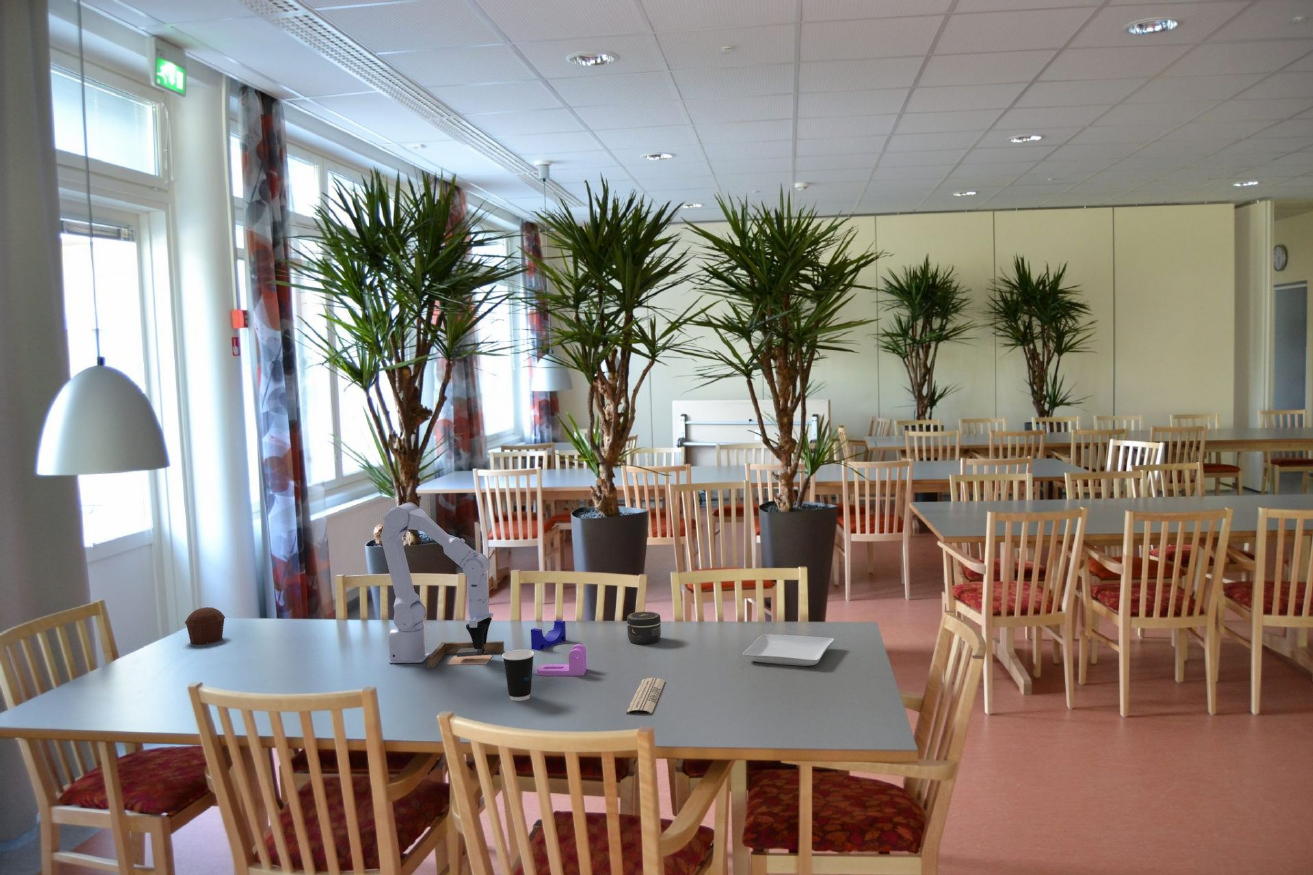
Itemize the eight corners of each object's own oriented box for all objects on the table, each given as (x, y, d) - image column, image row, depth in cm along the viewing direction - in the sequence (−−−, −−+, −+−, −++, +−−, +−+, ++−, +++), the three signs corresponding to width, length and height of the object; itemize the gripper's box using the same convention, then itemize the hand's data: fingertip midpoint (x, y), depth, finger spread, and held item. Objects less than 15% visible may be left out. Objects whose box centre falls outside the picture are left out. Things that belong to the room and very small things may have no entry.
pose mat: (447, 664, 270) (447, 664, 270) (454, 656, 278) (454, 655, 278) (486, 664, 269) (486, 663, 269) (492, 655, 277) (492, 655, 277)
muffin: (201, 635, 310) (199, 604, 309) (233, 635, 309) (231, 604, 308) (178, 645, 298) (176, 613, 298) (211, 645, 297) (209, 613, 296)
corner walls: (428, 668, 267) (427, 657, 267) (442, 652, 282) (441, 642, 282) (493, 667, 266) (492, 656, 266) (504, 651, 281) (503, 641, 281)
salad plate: (741, 665, 263) (740, 652, 263) (762, 643, 282) (762, 632, 282) (818, 672, 255) (818, 659, 255) (835, 649, 274) (835, 637, 274)
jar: (620, 642, 287) (619, 616, 287) (640, 634, 295) (639, 609, 295) (648, 647, 281) (647, 621, 281) (667, 638, 290) (667, 613, 289)
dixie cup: (537, 701, 238) (536, 656, 237) (505, 704, 236) (503, 659, 235) (534, 690, 246) (532, 647, 245) (502, 694, 244) (500, 650, 243)
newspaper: (641, 684, 250) (641, 677, 250) (669, 684, 249) (669, 677, 249) (626, 716, 227) (626, 709, 227) (656, 717, 226) (656, 709, 226)
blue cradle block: (554, 638, 294) (553, 619, 293) (565, 640, 291) (565, 621, 291) (527, 648, 284) (526, 628, 283) (539, 651, 281) (538, 630, 281)
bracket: (586, 669, 263) (585, 643, 262) (583, 675, 257) (582, 649, 257) (539, 669, 264) (538, 644, 263) (534, 676, 258) (533, 650, 258)
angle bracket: (484, 651, 275) (483, 630, 275) (481, 655, 271) (479, 634, 271) (460, 652, 276) (458, 631, 275) (456, 656, 272) (455, 635, 271)
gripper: (486, 604, 265) (488, 653, 266) (497, 592, 279) (499, 638, 280) (460, 604, 265) (463, 654, 266) (473, 592, 280) (475, 639, 281)
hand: (480, 646), depth 273 cm, fingers closed on angle bracket, 4 cm apart
